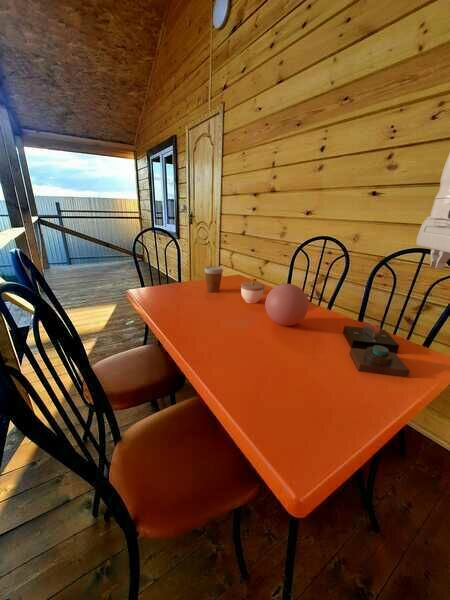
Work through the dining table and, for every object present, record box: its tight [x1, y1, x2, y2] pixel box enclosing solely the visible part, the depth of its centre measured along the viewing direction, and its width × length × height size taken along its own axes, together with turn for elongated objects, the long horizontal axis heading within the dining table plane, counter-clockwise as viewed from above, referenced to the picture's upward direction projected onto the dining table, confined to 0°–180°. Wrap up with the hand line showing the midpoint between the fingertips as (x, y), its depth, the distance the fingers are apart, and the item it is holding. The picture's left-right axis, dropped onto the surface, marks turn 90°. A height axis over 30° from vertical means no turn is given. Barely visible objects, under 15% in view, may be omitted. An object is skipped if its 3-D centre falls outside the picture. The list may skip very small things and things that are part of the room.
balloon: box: [264, 283, 310, 327], centre depth 94 cm, size 15×20×15 cm
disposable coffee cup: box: [203, 265, 224, 293], centre depth 131 cm, size 10×10×12 cm
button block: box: [349, 347, 411, 379], centre depth 70 cm, size 12×9×4 cm
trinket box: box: [240, 280, 265, 304], centre depth 117 cm, size 11×11×9 cm
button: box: [372, 345, 388, 357], centre depth 70 cm, size 4×4×2 cm
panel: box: [342, 325, 400, 355], centre depth 83 cm, size 13×11×3 cm
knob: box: [362, 319, 381, 339], centre depth 82 cm, size 6×2×4 cm, turn 4°
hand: (436, 268), depth 66 cm, fingers closed
